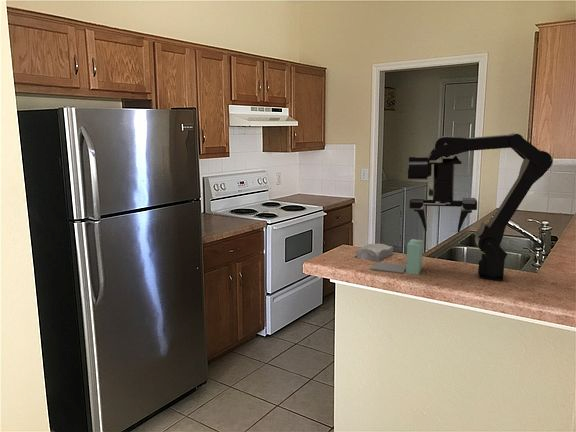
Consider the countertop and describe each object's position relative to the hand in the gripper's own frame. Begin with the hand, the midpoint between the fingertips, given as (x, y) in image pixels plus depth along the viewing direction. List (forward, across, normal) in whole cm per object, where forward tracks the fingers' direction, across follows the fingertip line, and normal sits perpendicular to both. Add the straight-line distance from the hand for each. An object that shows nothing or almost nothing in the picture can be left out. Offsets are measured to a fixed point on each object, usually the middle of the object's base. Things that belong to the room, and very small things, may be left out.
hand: (441, 231), depth 142 cm
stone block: (+13, +22, -13) cm, 29 cm away
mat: (+12, +15, 0) cm, 20 cm away
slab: (+13, +8, 0) cm, 15 cm away
